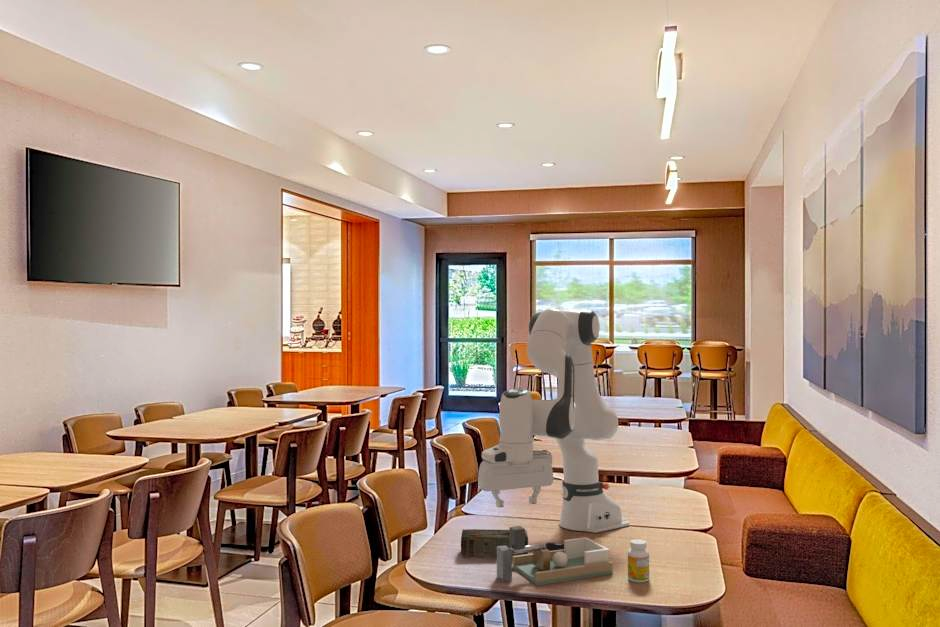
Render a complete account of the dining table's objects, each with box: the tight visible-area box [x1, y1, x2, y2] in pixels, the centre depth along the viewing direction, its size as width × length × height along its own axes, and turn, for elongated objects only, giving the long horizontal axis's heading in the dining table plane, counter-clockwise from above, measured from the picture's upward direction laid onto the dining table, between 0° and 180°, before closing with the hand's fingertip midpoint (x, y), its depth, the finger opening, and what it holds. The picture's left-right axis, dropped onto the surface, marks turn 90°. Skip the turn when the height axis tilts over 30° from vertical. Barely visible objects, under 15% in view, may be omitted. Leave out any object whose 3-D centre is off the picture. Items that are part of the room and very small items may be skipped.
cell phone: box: [545, 542, 564, 551], centre depth 222 cm, size 7×14×1 cm, turn 158°
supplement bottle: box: [627, 538, 650, 583], centre depth 198 cm, size 5×5×10 cm
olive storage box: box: [460, 528, 529, 558], centre depth 220 cm, size 8×19×7 cm, turn 90°
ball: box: [553, 552, 568, 567], centre depth 205 cm, size 4×4×4 cm
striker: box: [509, 525, 550, 571], centre depth 202 cm, size 10×6×11 cm, turn 111°
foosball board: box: [512, 536, 614, 586], centre depth 206 cm, size 22×15×6 cm
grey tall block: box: [496, 545, 513, 583], centre depth 199 cm, size 2×4×8 cm, turn 21°
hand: (516, 505), depth 201 cm, fingers open, 8 cm apart
